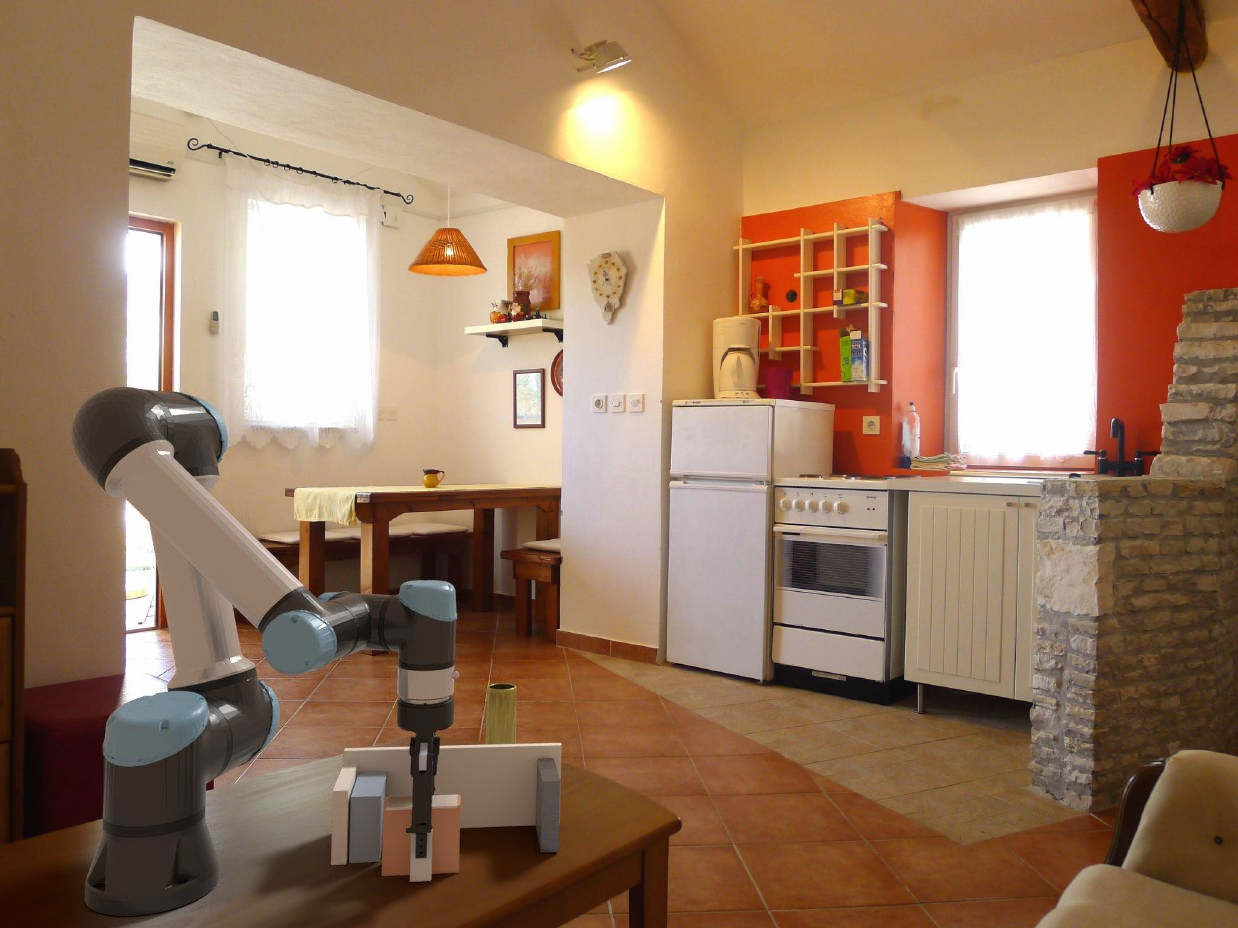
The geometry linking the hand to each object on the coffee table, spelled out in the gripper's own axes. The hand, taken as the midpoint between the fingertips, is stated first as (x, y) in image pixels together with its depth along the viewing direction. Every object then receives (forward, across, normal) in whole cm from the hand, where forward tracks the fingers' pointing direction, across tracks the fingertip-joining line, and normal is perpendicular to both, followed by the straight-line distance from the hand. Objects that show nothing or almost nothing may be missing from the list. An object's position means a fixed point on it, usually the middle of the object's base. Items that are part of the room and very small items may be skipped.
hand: (422, 864), depth 125 cm
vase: (+1, +41, -12) cm, 43 cm away
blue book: (0, +8, +8) cm, 11 cm away
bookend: (0, +8, -17) cm, 19 cm away
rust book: (0, 0, 0) cm, 0 cm away
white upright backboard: (0, +8, -4) cm, 9 cm away
